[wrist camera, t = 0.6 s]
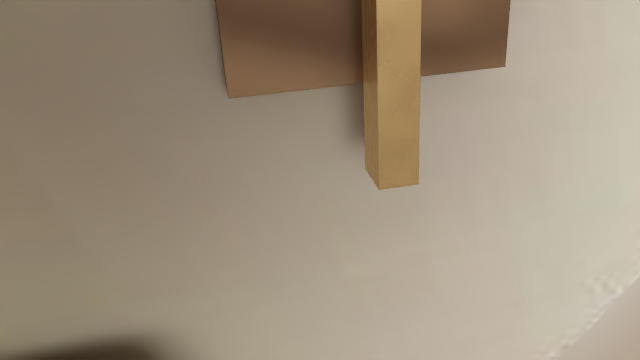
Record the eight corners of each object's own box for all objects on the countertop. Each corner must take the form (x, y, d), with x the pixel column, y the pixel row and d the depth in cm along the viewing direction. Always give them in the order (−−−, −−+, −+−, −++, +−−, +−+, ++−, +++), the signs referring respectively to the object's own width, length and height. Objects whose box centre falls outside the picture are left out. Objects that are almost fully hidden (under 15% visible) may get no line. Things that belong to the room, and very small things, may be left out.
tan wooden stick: (302, -154, 27) (322, -161, 23) (433, -161, 28) (473, -168, 24) (321, 161, 33) (338, 195, 30) (426, 146, 34) (456, 178, 30)
